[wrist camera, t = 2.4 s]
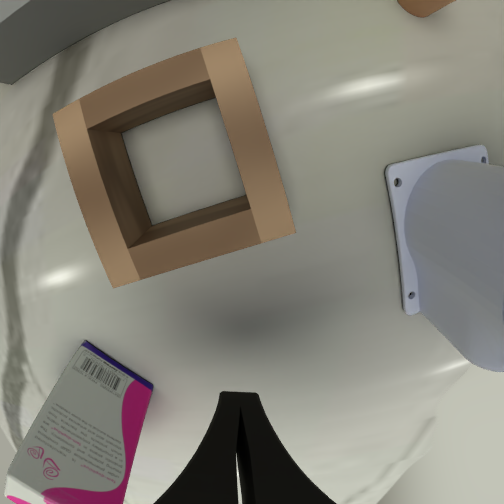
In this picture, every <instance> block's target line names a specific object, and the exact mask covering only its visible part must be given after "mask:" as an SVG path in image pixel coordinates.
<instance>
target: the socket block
mask: <svg viewBox="0 0 504 504" xmlns="http://www.w3.org/2000/svg"><path fill="white" fill-rule="evenodd" d="M215 97H216V99H217V102H218V105H219V108H220V111H221V114H222V118H223V121H224V124H225V127H226V130H227V133H228V137H229V140H230V143H231V146H232V149H233V152H234V156H235V159H236V162H237V165H238V168H239V172H240V175H241V178H242V181H243V185H244V188H245V191H246V194H247V195H245V196H242V197H239V198H235V199H232V200H229V201H226V202H223V203H219V204H216V205H213V206H210V207H207V208H204V209H201V210H198V211H195V212H192V213H189V214H186V215H183V216H180V217H177V218H174V219H171V220H168V221H165V222H162V223H159V224H156V225H153V226H152V225H151V222H150V219H149V217H148V214H147V211H146V208H145V206H144V203H143V200H142V197H141V194H140V191H139V188H138V185H137V183H136V180H135V177H134V174H133V171H132V167H131V164H130V161H129V158H128V155H127V152H126V149H125V145H124V142H123V139H122V136H121V133H122V132H124V131H126V130H129V129H131V128H133V127H136V126H138V125H141V124H143V123H145V122H148V121H150V120H153V119H156V118H158V117H161V116H163V115H166V114H169V113H171V112H174V111H177V110H180V109H182V108H185V107H188V106H191V105H194V104H197V103H200V102H203V101H206V100H209V99H212V98H215ZM53 118H54V122H55V126H56V130H57V134H58V138H59V142H60V145H61V149H62V152H63V156H64V159H65V163H66V166H67V169H68V173H69V176H70V179H71V182H72V185H73V188H74V191H75V194H76V197H77V200H78V203H79V206H80V209H81V211H82V214H83V217H84V220H85V222H86V225H87V227H88V230H89V233H90V235H91V238H92V240H93V243H94V245H95V248H96V250H97V253H98V255H99V257H100V260H101V262H102V264H103V267H104V269H105V271H106V274H107V276H108V278H109V280H110V283H111V285H112V287H113V288H116V287H119V286H122V285H125V284H129V283H132V282H135V281H138V280H142V279H145V278H148V277H152V276H155V275H158V274H161V273H165V272H168V271H171V270H174V269H178V268H181V267H184V266H188V265H191V264H194V263H197V262H201V261H204V260H207V259H211V258H214V257H217V256H221V255H224V254H227V253H230V252H234V251H237V250H240V249H244V248H247V247H250V246H254V245H257V244H260V243H264V242H267V241H270V240H274V239H277V238H280V237H284V236H287V235H290V234H294V233H296V231H295V227H294V223H293V220H292V216H291V212H290V209H289V205H288V201H287V198H286V194H285V191H284V187H283V184H282V180H281V177H280V173H279V170H278V166H277V163H276V159H275V156H274V153H273V149H272V146H271V143H270V139H269V136H268V133H267V130H266V126H265V123H264V120H263V117H262V114H261V110H260V107H259V104H258V101H257V98H256V95H255V92H254V89H253V86H252V83H251V80H250V77H249V74H248V71H247V68H246V65H245V62H244V59H243V56H242V53H241V50H240V47H239V44H238V41H237V39H236V38H233V39H229V40H225V41H222V42H218V43H215V44H211V45H208V46H205V47H201V48H198V49H195V50H192V51H189V52H186V53H183V54H180V55H177V56H174V57H172V58H169V59H166V60H163V61H161V62H158V63H156V64H153V65H151V66H148V67H146V68H143V69H141V70H138V71H136V72H134V73H131V74H129V75H127V76H125V77H122V78H120V79H118V80H116V81H114V82H112V83H110V84H107V85H105V86H103V87H101V88H99V89H97V90H95V91H93V92H91V93H89V94H88V95H86V96H84V97H82V98H80V99H78V100H76V101H75V102H73V103H71V104H69V105H67V106H66V107H64V108H62V109H60V110H59V111H57V112H55V113H54V114H53Z"/></svg>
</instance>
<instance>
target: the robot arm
mask: <svg viewBox="0 0 504 504" xmlns="http://www.w3.org/2000/svg"><path fill="white" fill-rule="evenodd" d="M481 159H483V162H481ZM385 175H386V180H387V185H388V190H389V196H390V201H391V207H392V213H393V219H394V226H395V232H396V239H397V247H398V255H399V264H400V273H401V283H402V295H403V309H404V312H405V313H406V314H407V315H414V314H416V313H418V312H421V313H422V314H423V315H424V316H425V317H426V318H427V319H428V320H429V321H430V322H431V323H432V324H433V325H434V326H435V327H436V328H437V329H438V330H439V331H440V332H441V333H442V334H443V335H444V336H445V337H446V338H447V339H448V340H449V341H450V342H451V343H452V344H453V346H454V347H455V348H456V349H457V350H458V351H459V352H460V353H461V354H462V355H463V356H464V357H465V358H466V359H467V360H468V361H470V362H471V363H473V364H474V365H476V366H478V367H481V368H483V369H486V370H491V371H495V372H504V166H498V165H492V164H489V162H488V155H487V150H486V148H485V146H483V145H474V146H469V147H464V148H460V149H455V150H450V151H446V152H441V153H437V154H432V155H428V156H423V157H419V158H415V159H410V160H406V161H402V162H398V163H394V164H390V165H388V167H387V168H386V171H385ZM396 178H398V185H397V186H394V180H395V179H396ZM410 292H412V294H411V295H410V296H409V297H408V295H409V293H410ZM236 453H237V462H238V470H239V478H240V486H241V494H242V504H336V503H335V502H334V501H332V500H331V499H330V498H329V497H328V496H327V495H326V494H324V493H323V492H322V491H321V490H320V489H319V488H318V487H317V486H316V485H315V484H314V483H313V482H312V481H311V480H310V479H309V478H308V477H307V476H306V475H305V474H304V472H303V471H302V470H301V469H300V468H299V466H298V465H297V464H296V463H295V461H294V460H293V459H292V457H291V456H290V455H289V453H288V452H287V450H286V449H285V447H284V446H283V444H282V443H281V441H280V440H279V438H278V436H277V435H276V433H275V431H274V429H273V427H272V426H271V424H270V422H269V420H268V418H267V416H266V413H265V411H264V409H263V406H262V404H261V401H260V398H259V395H258V394H257V393H251V392H228V391H222V392H221V393H220V395H219V401H218V405H217V408H216V411H215V414H214V416H213V419H212V421H211V423H210V426H209V428H208V430H207V432H206V434H205V436H204V438H203V440H202V442H201V443H200V445H199V447H198V449H197V451H196V452H195V454H194V455H193V457H192V459H191V460H190V461H189V463H188V464H187V466H186V467H185V469H184V470H183V471H182V473H181V474H180V475H179V476H178V478H177V479H176V480H175V481H174V483H173V484H172V485H171V486H170V487H169V488H168V489H167V490H166V492H165V493H164V494H163V495H162V496H161V497H160V498H159V499H158V500H157V501H156V502H155V503H154V504H238V490H237V470H236Z"/></svg>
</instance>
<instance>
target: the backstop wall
mask: <svg viewBox="0 0 504 504" xmlns="http://www.w3.org/2000/svg"><path fill="white" fill-rule="evenodd" d="M166 1H169V0H0V82H1V83H6V84H11V85H12V84H13V83H14V82H16V81H17V80H18V79H20V78H21V77H22V76H24V75H25V74H27V73H28V72H29V71H31V70H32V69H34V68H35V67H37V66H38V65H40V64H41V63H43V62H44V61H46V60H47V59H49V58H50V57H52V56H54V55H55V54H57V53H59V52H60V51H62V50H64V49H65V48H67V47H69V46H70V45H72V44H74V43H76V42H77V41H79V40H81V39H83V38H85V37H87V36H88V35H90V34H92V33H94V32H96V31H98V30H100V29H102V28H104V27H106V26H108V25H110V24H113V23H115V22H117V21H119V20H121V19H123V18H126V17H128V16H130V15H133V14H135V13H137V12H140V11H142V10H145V9H147V8H150V7H153V6H155V5H158V4H161V3H163V2H166Z"/></svg>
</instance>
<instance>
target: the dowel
mask: <svg viewBox="0 0 504 504" xmlns="http://www.w3.org/2000/svg"><path fill="white" fill-rule="evenodd" d="M397 1H398V3H399V4H400V5H401V6H402V7H403V8H404V9H405V10H406V11H407V12H409V13H411V14H412V15H414V16H417V17H426V16H428V15H430V14H432V13H434V12H435V11H437V10H439V9H441V8H443V7H444V6H446V5H448V4H450V3H452V2H454V1H456V0H397Z"/></svg>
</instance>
